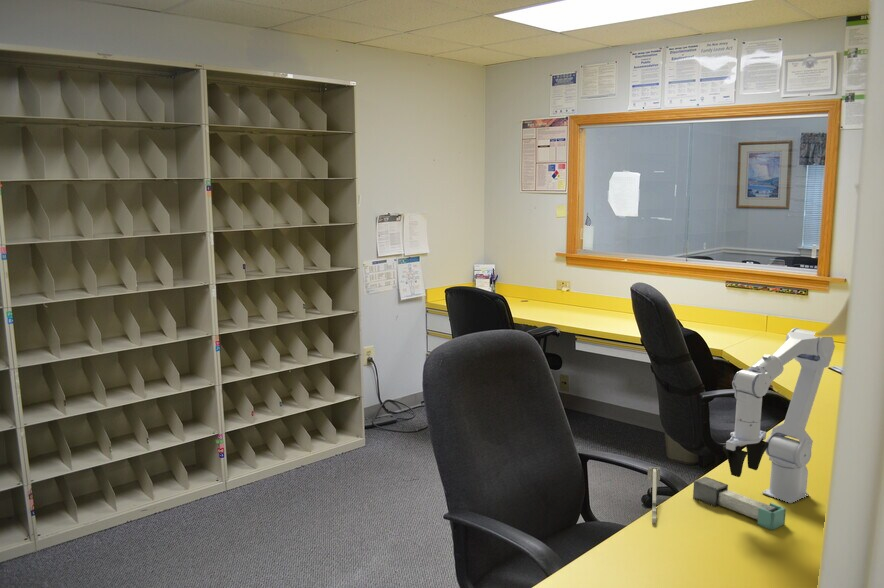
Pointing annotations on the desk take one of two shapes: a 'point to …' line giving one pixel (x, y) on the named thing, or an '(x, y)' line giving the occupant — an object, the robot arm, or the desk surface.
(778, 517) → the socket
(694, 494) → the sleeve
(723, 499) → the long grey plank
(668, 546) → the desk surface
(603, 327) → the desk surface
